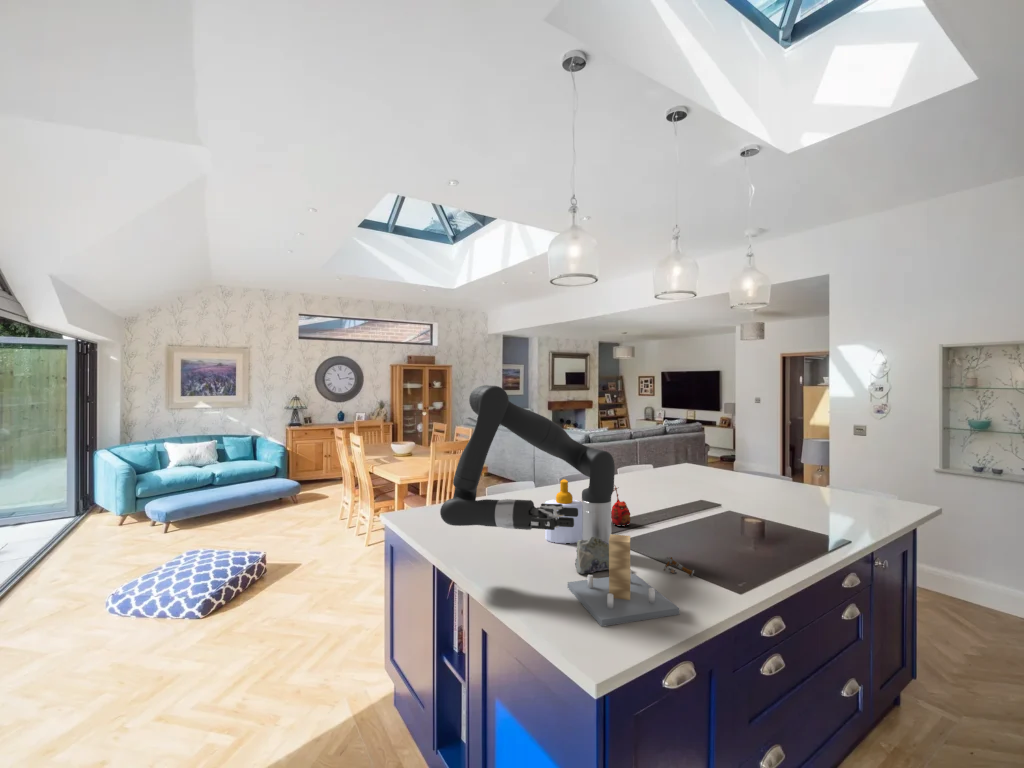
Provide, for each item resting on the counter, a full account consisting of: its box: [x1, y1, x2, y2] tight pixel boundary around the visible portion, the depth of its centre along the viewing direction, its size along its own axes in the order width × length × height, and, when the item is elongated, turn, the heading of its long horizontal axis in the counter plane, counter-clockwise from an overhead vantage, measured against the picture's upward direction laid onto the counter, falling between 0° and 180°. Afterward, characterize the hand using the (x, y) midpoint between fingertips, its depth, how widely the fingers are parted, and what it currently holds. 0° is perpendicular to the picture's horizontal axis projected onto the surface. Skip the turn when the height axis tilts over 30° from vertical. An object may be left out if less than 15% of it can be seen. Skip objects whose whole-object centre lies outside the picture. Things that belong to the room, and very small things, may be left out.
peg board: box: [567, 570, 680, 627], centre depth 114 cm, size 20×20×4 cm
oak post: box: [608, 533, 631, 600], centre depth 114 cm, size 5×5×14 cm
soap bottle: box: [544, 478, 582, 545], centre depth 158 cm, size 13×8×20 cm, turn 84°
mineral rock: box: [574, 536, 609, 575], centre depth 132 cm, size 13×11×10 cm
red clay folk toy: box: [611, 484, 631, 525], centre depth 175 cm, size 8×7×15 cm
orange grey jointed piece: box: [663, 556, 695, 578], centre depth 130 cm, size 2×8×4 cm, turn 63°
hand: (576, 517), depth 117 cm, fingers open, 8 cm apart
